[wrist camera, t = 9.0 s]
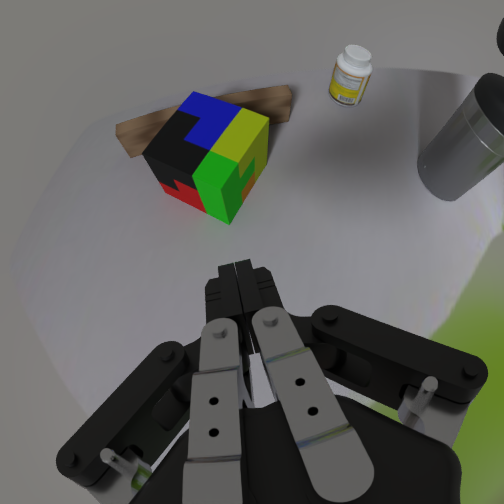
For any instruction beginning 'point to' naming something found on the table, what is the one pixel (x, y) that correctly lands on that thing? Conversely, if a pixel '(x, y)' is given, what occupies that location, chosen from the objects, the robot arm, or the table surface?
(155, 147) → the puzzle toy
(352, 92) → the supplement bottle
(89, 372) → the table surface
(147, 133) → the board
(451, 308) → the table surface
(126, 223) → the table surface
